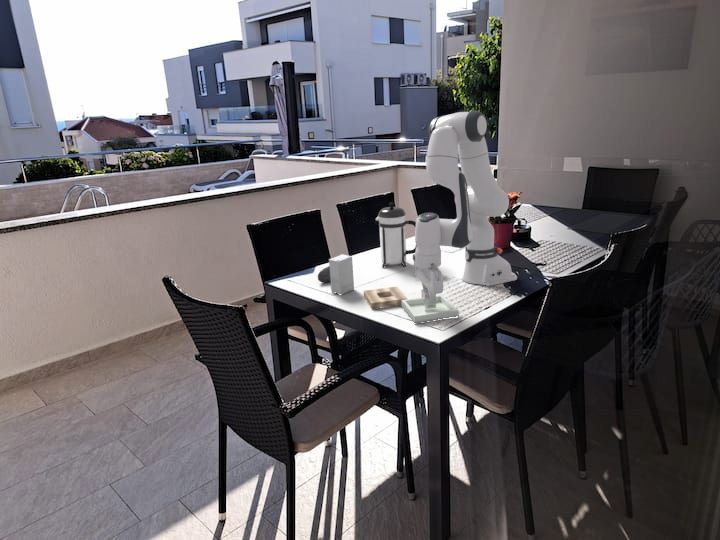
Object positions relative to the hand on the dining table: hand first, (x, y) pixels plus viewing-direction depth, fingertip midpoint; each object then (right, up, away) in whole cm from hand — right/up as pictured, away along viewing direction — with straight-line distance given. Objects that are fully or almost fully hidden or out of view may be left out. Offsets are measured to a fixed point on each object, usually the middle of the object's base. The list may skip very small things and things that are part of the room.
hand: (428, 296), depth 176 cm
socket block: (-15, -2, +16) cm, 22 cm away
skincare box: (-32, +1, +28) cm, 43 cm away
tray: (0, -6, +2) cm, 6 cm away
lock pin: (0, -3, +1) cm, 4 cm away
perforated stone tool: (-37, +5, +43) cm, 57 cm away
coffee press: (-7, +12, +60) cm, 61 cm away
